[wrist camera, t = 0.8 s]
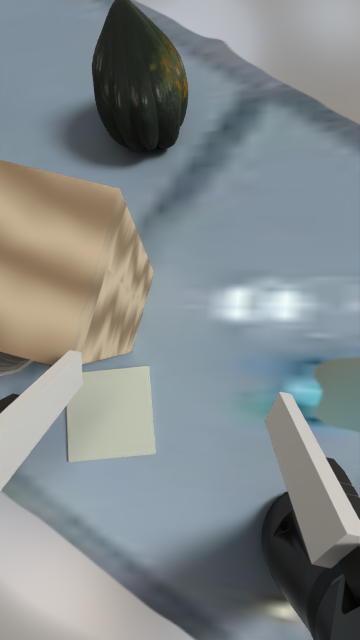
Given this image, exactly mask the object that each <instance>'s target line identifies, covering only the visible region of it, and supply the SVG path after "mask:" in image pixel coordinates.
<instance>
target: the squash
mask: <svg viewBox="0 0 360 640" xmlns="http://www.w3.org/2000/svg"><path fill="white" fill-rule="evenodd" d="M92 75H93V83H94V94H95V101H96V106H97V110H98V112H99V115H100V118H101V120H102V122H103V124H104V126H105V128H106V129H107V131H108V132H109V134H110V135H111V137H112V138H113V139H114V140H115V141H116V142H118V143H119V144H121V145H123V146H126V147H130V148H131V149H132V150H133V151H135V152H140V151H141V150H142V149H143V148H144V147H146V148H147V149H148V150H153V149H155V148H156V146H157V145H158V146H159V147H161V148H169V147H171V146H172V145H174V144H175V142H176V140H177V138H178V134H179V129H180V126H181V125H182V123H183V121H184V118H185V114H186V109H187V103H188V83H187V78H186V73H185V69H184V65H183V63H182V60H181V57H180V55H179V53H178V52H177V50H176V48H175V47H174V45H173V44H172V42H171V41H170V40H169V39H168V37H167V36H166V35H165V34H164V33H163V32H162V31H161V30H160V29H159V28H158V27H157V26H156V25H155V24H154V23H153V22H152V21H151V20H150V19H149V18H148V17H147V16H146V15H145V14H144V13H143V12H142V11H141V10H140V9H139V8H138V7H137V6H136V5H135V4H134V3H133V2H131V1H130V0H115V1H114V2H113V4H112V6H111V8H110V10H109V13H108V15H107V18H106V20H105V23H104V26H103V29H102V31H101V34H100V36H99V39H98V42H97V45H96V48H95V52H94V55H93V62H92Z"/></svg>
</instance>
